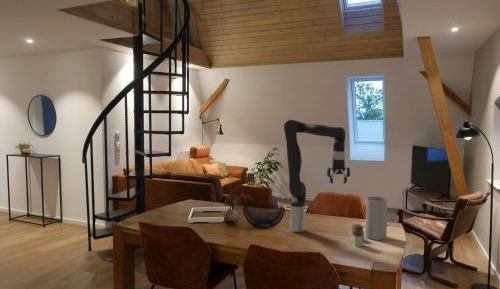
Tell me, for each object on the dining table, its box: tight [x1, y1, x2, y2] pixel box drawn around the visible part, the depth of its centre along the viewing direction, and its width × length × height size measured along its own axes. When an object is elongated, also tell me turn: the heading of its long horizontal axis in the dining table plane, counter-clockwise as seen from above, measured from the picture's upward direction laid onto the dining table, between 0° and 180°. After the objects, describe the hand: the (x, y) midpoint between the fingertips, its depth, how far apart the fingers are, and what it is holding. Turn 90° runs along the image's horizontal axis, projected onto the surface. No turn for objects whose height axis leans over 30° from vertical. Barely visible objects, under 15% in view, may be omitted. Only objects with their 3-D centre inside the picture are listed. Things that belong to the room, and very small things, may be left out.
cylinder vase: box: [365, 196, 388, 241], centre depth 226 cm, size 12×12×25 cm
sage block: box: [351, 234, 364, 248], centre depth 212 cm, size 4×4×6 cm
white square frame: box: [187, 206, 231, 224], centre depth 277 cm, size 32×32×4 cm
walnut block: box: [352, 223, 364, 237], centre depth 212 cm, size 4×4×6 cm
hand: (338, 183), depth 229 cm, fingers open, 8 cm apart
